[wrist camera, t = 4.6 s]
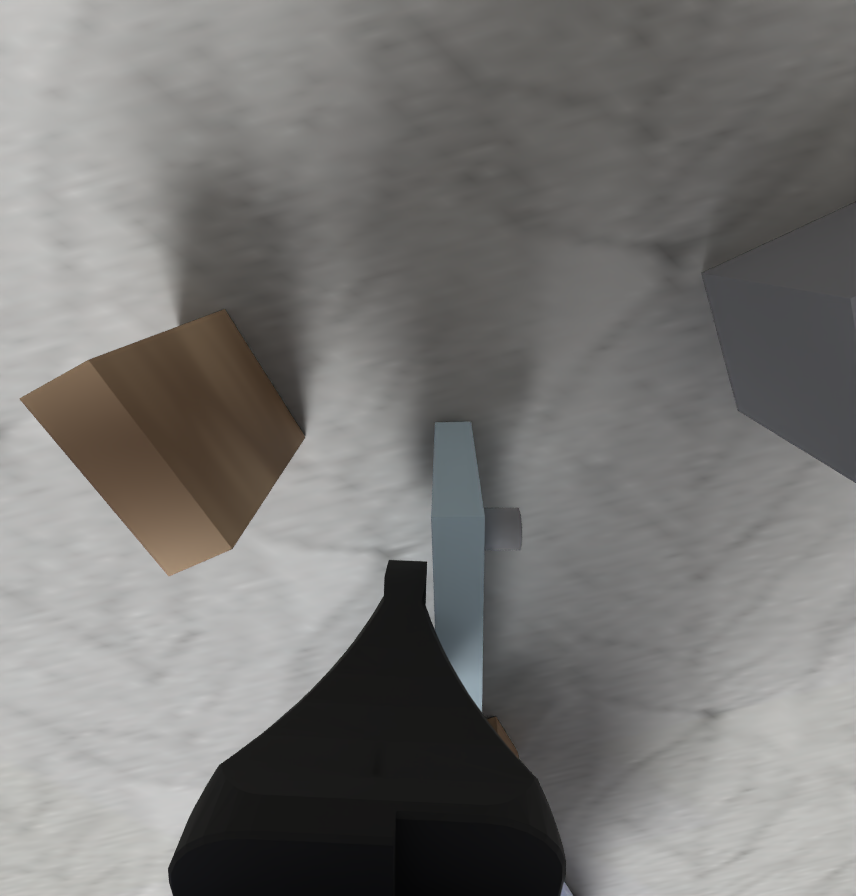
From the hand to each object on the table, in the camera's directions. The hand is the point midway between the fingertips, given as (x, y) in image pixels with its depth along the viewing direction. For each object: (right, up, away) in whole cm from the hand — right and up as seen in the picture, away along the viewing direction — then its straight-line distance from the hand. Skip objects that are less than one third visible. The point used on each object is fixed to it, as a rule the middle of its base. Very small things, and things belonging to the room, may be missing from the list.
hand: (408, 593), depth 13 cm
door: (+2, -1, +4) cm, 4 cm away
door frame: (-1, -2, +4) cm, 5 cm away
